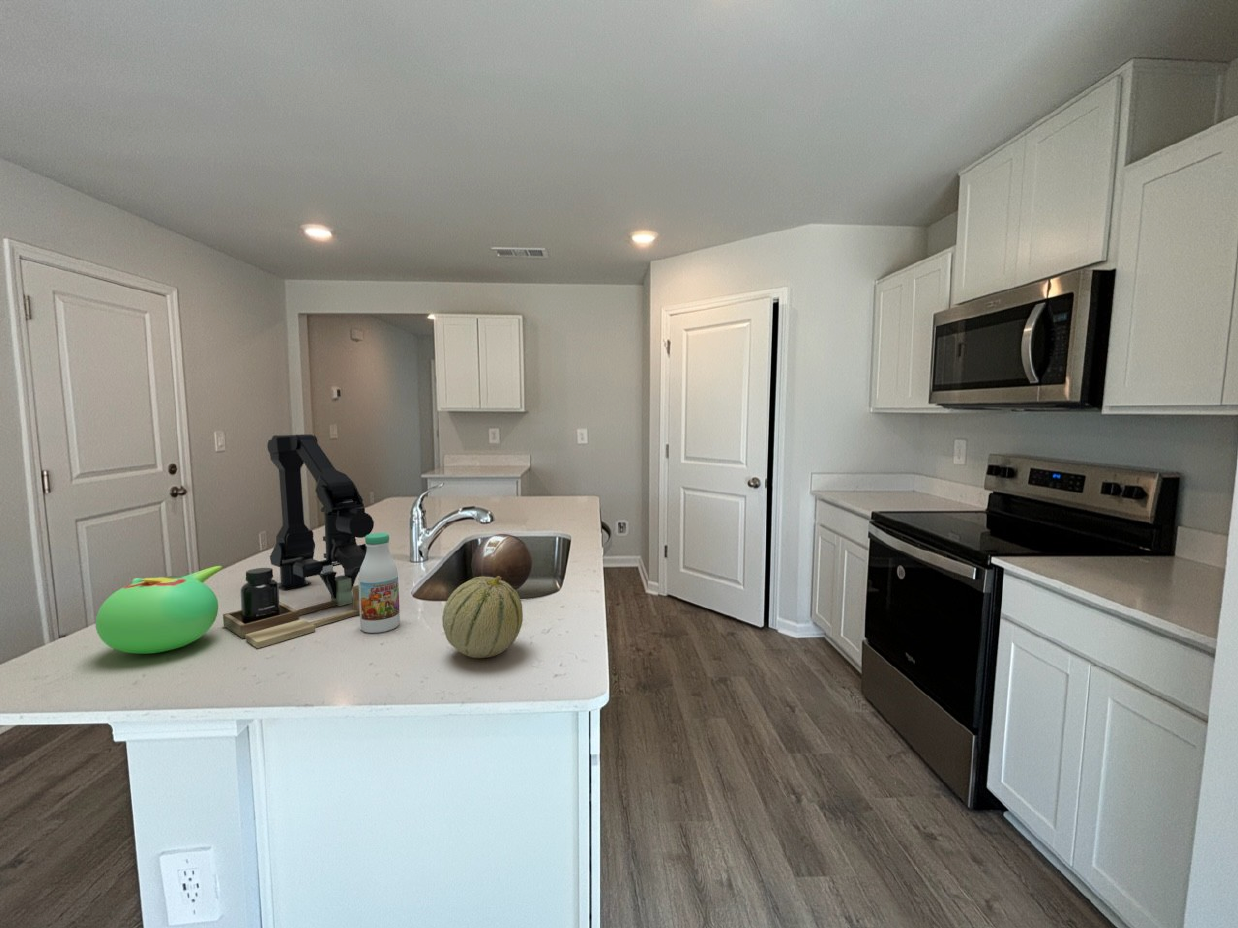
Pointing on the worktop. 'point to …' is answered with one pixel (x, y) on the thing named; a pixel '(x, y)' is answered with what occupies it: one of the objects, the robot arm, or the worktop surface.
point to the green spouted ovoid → (158, 613)
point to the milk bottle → (378, 587)
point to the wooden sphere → (503, 560)
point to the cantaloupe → (482, 617)
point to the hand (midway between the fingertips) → (341, 596)
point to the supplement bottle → (259, 596)
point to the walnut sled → (288, 611)
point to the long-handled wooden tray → (298, 626)
